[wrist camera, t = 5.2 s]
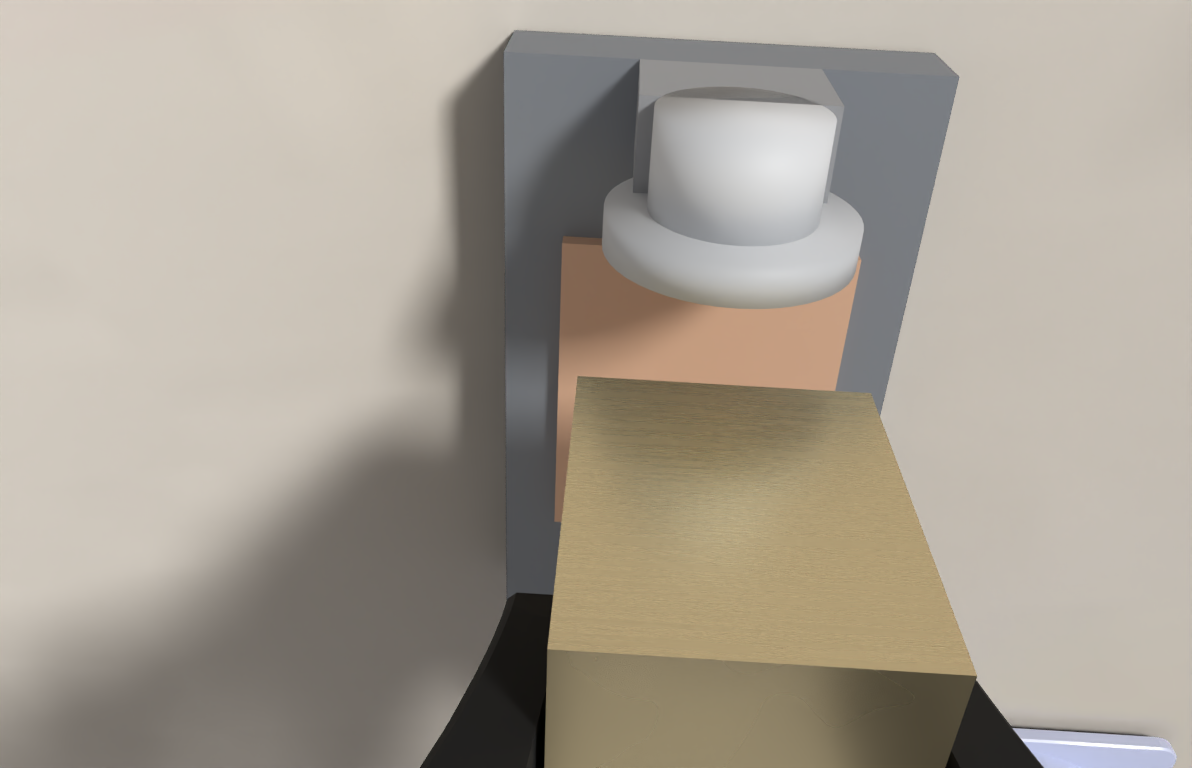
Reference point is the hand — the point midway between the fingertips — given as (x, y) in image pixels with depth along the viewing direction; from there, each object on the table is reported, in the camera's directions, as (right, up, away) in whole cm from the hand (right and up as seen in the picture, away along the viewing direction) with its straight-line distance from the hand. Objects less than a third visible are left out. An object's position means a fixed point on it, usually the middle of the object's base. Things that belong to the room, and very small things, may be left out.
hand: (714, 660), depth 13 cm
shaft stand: (0, +4, +7) cm, 8 cm away
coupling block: (0, +1, +2) cm, 2 cm away
